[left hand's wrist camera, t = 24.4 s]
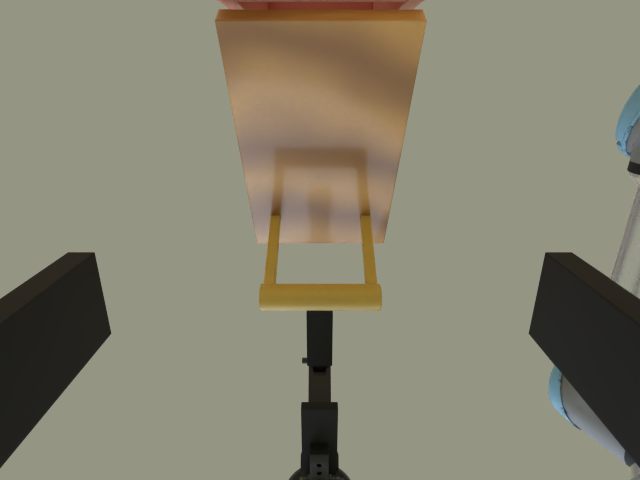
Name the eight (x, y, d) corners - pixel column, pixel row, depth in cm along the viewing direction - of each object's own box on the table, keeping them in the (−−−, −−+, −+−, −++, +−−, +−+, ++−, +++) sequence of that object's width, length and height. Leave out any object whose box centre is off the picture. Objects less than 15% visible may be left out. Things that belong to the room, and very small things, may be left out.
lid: (382, 232, 34) (394, 330, 29) (258, 231, 34) (246, 330, 29) (423, 9, 21) (459, 116, 15) (218, 8, 21) (181, 115, 15)
